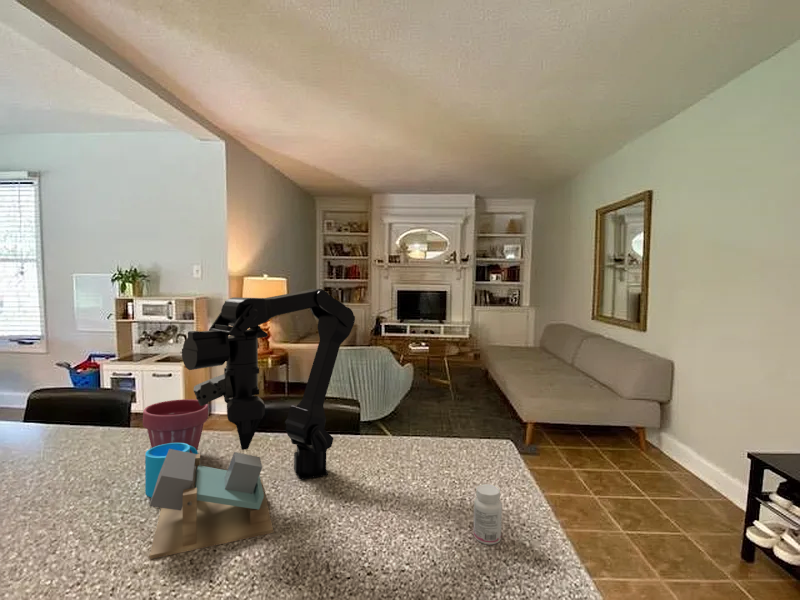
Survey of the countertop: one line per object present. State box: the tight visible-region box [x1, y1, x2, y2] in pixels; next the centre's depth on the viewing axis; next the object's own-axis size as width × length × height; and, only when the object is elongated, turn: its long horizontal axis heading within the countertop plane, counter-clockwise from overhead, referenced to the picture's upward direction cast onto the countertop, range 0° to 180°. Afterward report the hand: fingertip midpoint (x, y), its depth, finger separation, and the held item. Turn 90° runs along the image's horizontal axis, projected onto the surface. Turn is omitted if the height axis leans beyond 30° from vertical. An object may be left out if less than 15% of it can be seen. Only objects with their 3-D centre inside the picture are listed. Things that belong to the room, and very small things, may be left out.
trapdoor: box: [149, 449, 264, 510], centre depth 76 cm, size 17×12×5 cm
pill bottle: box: [473, 483, 503, 546], centre depth 72 cm, size 5×5×8 cm
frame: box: [149, 453, 274, 560], centre depth 77 cm, size 18×18×9 cm
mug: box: [144, 443, 199, 499], centre depth 89 cm, size 12×8×8 cm
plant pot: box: [142, 398, 209, 453], centre depth 102 cm, size 14×14×13 cm
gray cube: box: [225, 451, 263, 494], centre depth 78 cm, size 5×5×5 cm
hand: (242, 440), depth 82 cm, fingers open, 9 cm apart
